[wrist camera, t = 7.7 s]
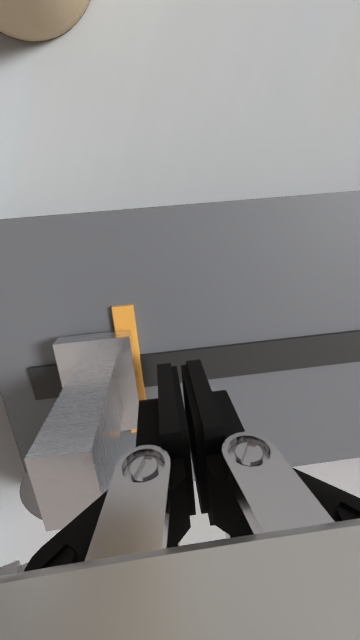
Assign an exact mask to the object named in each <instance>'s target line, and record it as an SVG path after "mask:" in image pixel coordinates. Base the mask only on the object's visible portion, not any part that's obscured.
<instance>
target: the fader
mask: <svg viewBox="0 0 360 640" xmlns="http://www.w3.org/2000/svg"><path fill="white" fill-rule="evenodd" d="M53 350H54V354H55V358H56V362H57V367H58V371H59V375H60V379H61V384H62V388H63V389H62V391H61V393H60V395H59V397H58V398H57V400H56V402H55V404H54V406H53V408H52V409H51V411H50V413H49V415H48V417H47V419H46V420H45V422H44V424H43V426H42V428H41V430H40V431H39V433H38V435H37V437H36V439H35V441H34V442H33V444H32V446H31V448H30V450H29V451H28V453H27V455H26V457H25V459H24V461H25V464H26V467H27V470H28V474H29V477H30V480H31V483H32V487H33V490H34V493H35V496H36V499H37V503H38V506H39V509H40V512H41V516H42V519H43V522H44V525H45V529H46V531H51V530H58V529H63V528H64V527H65V526H67V525H68V524H69V523H70V522H71V521H72V520H73V519H75V518H76V517H77V516H78V515H79V514H80V513H81V512H83V511H84V510H85V509H86V508H87V507H88V506H90V505H91V504H92V503H93V502H94V501H95V500H96V499H98V498H99V497H100V496H101V495H102V494H103V493H104V492H106V491H107V490H108V489H109V486H110V483H111V480H112V477H113V474H114V471H115V464H116V458H117V451H118V444H119V438H120V431H125V430H133V429H137V421H138V407H139V401H140V393H139V386H138V379H137V372H136V365H135V358H134V351H133V344H132V337H131V330H124V331H115V332H105V333H96V334H87V335H77V336H68V337H59V338H58V339H57V340H56V341H55V342H54V344H53Z"/></svg>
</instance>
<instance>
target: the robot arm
mask: <svg viewBox="0 0 360 640" xmlns="http://www.w3.org/2000/svg"><path fill="white" fill-rule="evenodd" d="M181 372H182V384H183V395H184V403H183V397H182V392H181V386H180V381H179V375H178V370H177V366H171V363H164V364H157V381H158V398H155V399H147V400H140V401H139V407H138V421H137V435H136V447H135V448H132V449H131V450H129V451H128V452H126V453H125V454H124V455H123V456H122V457H121V458H120V459H119V461H118V463H117V465H116V468H115V471H114V474H113V477H112V480H111V483H110V486H109V489H108V490H107V491H106V492H104V493H103V494H102V495H101V496H100V497H99V498H98V499H96V500H95V501H94V502H93V503H92V504H91V505H90V506H88V507H87V508H86V509H85V510H84V511H83V512H81V513H80V514H79V515H78V516H77V517H76V518H75V519H73V520H72V521H71V522H70V523H69V524H68V525H67V526H65V527H64V528H63V529H62V530H61V531H60V532H58V533H57V534H56V535H55V536H54V537H53V538H52V539H50V540H49V541H48V542H47V543H46V544H45V545H44V546H42V547H41V548H40V549H39V550H38V551H37V553H36V554H35V555H34V556H33V557H32V558H31V560H30V561H29V562H28V563H26V564H23V565H21V564H20V562H19V560H18V561H16V562H13V563H10V564H8V565H5V566H2V567H0V640H360V498H358V497H356V496H354V495H352V494H349V493H347V492H345V491H343V490H341V489H338V488H336V487H334V486H332V485H330V484H327V483H325V482H323V481H321V480H319V479H316V478H314V477H312V476H310V475H308V474H305V473H303V472H301V471H299V470H297V469H294V468H292V467H291V466H290V464H289V463H288V462H287V461H286V459H285V458H284V457H283V456H282V454H281V453H280V452H279V451H278V449H277V448H276V447H275V445H274V444H273V443H272V442H271V441H270V440H269V439H268V438H266V437H264V436H262V435H260V434H257V433H253V432H245V430H244V428H243V426H242V423H241V421H240V419H239V417H238V415H237V412H236V410H235V408H234V406H233V404H232V402H231V399H230V397H229V395H228V393H227V391H226V390H220V391H212V390H211V387H210V385H209V382H208V379H207V377H206V374H205V371H204V368H203V366H202V363H201V360H200V359H198V360H190V361H186V365H181ZM184 406H185V408H184ZM191 458H192V463H193V469H194V475H195V481H196V486H197V492H198V498H199V504H200V509H201V514H203V513H208V516H209V521H210V526H211V525H216V526H217V527H219V528H220V529H222V530H223V531H224V532H226V539H221V540H215V541H208V542H202V543H196V544H189V545H183V546H180V540H181V539H182V538H183V536H184V535H185V534H186V533H187V531H188V530H189V529H190V527H191V526H190V515H196V510H195V499H194V487H193V475H192V464H191Z"/></svg>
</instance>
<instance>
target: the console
mask: <svg viewBox="0 0 360 640" xmlns="http://www.w3.org/2000/svg"><path fill="white" fill-rule="evenodd" d="M124 330H131V337H132V344H133V351H134V358H135V365H136V372H137V379H138V386H139V393H140V400H147V399H155V398H158V381H157V364H164V363H171V366H177V370H178V375H179V381H180V386H181V392H182V397H183V403H184V395H183V384H182V372H181V365H186V361H190V360H198V359H200V360H201V363H202V366H203V368H204V371H205V374H206V377H207V379H208V382H209V385H210V387H211V390H212V391H220V390H226V391H227V393H228V395H229V397H230V399H231V402H232V404H233V406H234V408H235V410H236V412H237V415H238V417H239V419H240V421H241V423H242V426H243V428H244V430H245V432H253V433H257V434H260V435H262V436H264V437H266V438H268V439H269V440H270V441H271V442H272V443H273V444H274V445H275V447H276V448H277V449H278V451H279V452H280V453H281V454H282V456H283V457H284V458H285V459H286V461H287V462H288V463H289V464H290V466H291V467H294V466H301V465H308V464H315V463H322V462H329V461H337V460H344V459H351V458H358V457H360V191H349V192H336V193H324V194H311V195H299V196H286V197H274V198H261V199H249V200H236V201H224V202H211V203H199V204H186V205H174V206H161V207H149V208H136V209H124V210H111V211H99V212H86V213H74V214H61V215H49V216H36V217H24V218H11V219H0V392H1V395H2V398H3V401H4V404H5V408H6V411H7V414H8V417H9V420H10V424H11V427H12V430H13V433H14V436H15V440H16V443H17V446H18V449H19V452H20V456H21V459H22V462H23V465H24V468H25V472H26V475H25V477H24V479H23V481H22V483H21V486H20V497H21V500H22V503H23V504H24V506H25V507H26V509H27V510H28V511H29V512H30V513H31V514H33V515H34V516H36V517H38V518H39V519H42V516H41V512H40V509H39V506H38V503H37V499H36V496H35V493H34V490H33V487H32V483H31V480H30V477H29V474H28V470H27V467H26V464H25V461H24V459H25V457H26V455H27V453H28V451H29V450H30V448H31V446H32V444H33V442H34V441H35V439H36V437H37V435H38V433H39V431H40V430H41V428H42V426H43V424H44V422H45V420H46V419H47V417H48V415H49V413H50V411H51V409H52V408H53V406H54V404H55V402H56V400H57V398H58V397H59V395H60V393H61V391H62V389H63V388H62V384H61V379H60V375H59V371H58V367H57V362H56V358H55V354H54V350H53V344H54V342H55V341H56V340H57V339H58V338H59V337H68V336H77V335H87V334H96V333H105V332H115V331H124ZM184 408H185V406H184ZM136 435H137V429H133V430H125V431H120V438H119V444H118V451H117V458H116V464H115V468H116V465H117V463H118V461H119V459H120V458H121V457H122V456H123V455H124V454H125V453H126V452H128V451H129V450H131V449H132V448H135V447H136ZM191 464H192V475H193V481H195V475H194V469H193V463H192V458H191ZM42 520H43V519H42Z"/></svg>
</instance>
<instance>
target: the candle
mask: <svg viewBox="0 0 360 640" xmlns="http://www.w3.org/2000/svg"><path fill="white" fill-rule="evenodd" d="M89 3H90V0H0V32H1V33H3V34H5V35H7V36H10V37H13V38H16V39H20V40H25V41H45V40H49V39H53V38H56V37H58V36H60V35H62V34H64V33H65V32H67V31H68V30H69V29H71V28H72V27H73V26H74V25H75V24H76V23H77V22H78V21H79V19H80V18H81V17H82V15H83V14H84V12H85V11H86V9H87V7H88V5H89Z"/></svg>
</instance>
